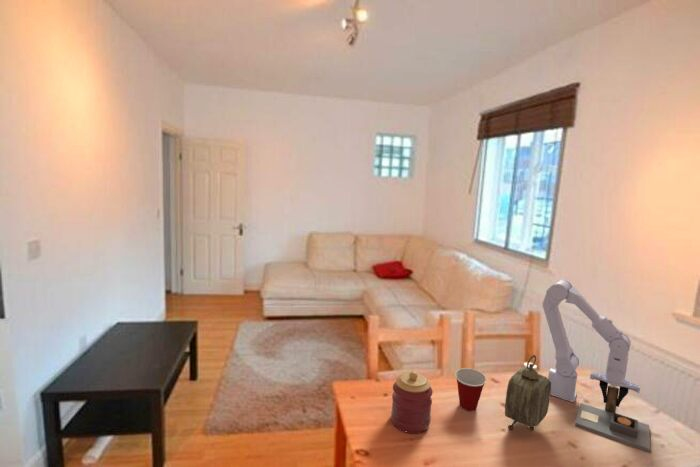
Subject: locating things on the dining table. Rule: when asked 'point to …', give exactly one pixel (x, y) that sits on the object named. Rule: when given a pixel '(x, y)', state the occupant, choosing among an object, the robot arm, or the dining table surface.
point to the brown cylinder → (611, 399)
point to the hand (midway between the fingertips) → (611, 403)
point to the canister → (411, 402)
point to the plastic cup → (469, 387)
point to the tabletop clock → (527, 397)
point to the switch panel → (613, 426)
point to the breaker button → (624, 421)
